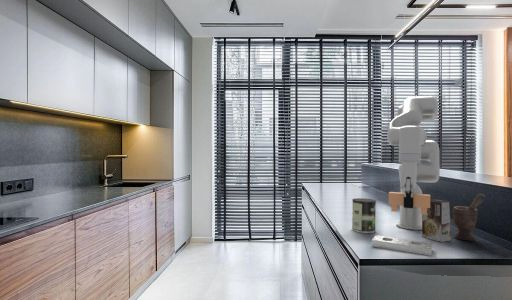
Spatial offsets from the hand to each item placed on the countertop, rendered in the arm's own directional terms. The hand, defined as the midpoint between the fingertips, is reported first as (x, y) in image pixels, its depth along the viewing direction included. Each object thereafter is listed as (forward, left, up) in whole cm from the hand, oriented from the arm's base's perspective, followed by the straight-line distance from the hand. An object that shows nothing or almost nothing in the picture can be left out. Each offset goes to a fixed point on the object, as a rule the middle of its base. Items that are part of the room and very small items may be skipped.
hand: (408, 206), depth 121 cm
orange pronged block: (0, 0, -2) cm, 2 cm away
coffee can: (-19, -20, -16) cm, 32 cm away
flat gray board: (+1, -2, -16) cm, 16 cm away
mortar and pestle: (-28, +21, -16) cm, 38 cm away
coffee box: (-22, +9, -16) cm, 28 cm away
